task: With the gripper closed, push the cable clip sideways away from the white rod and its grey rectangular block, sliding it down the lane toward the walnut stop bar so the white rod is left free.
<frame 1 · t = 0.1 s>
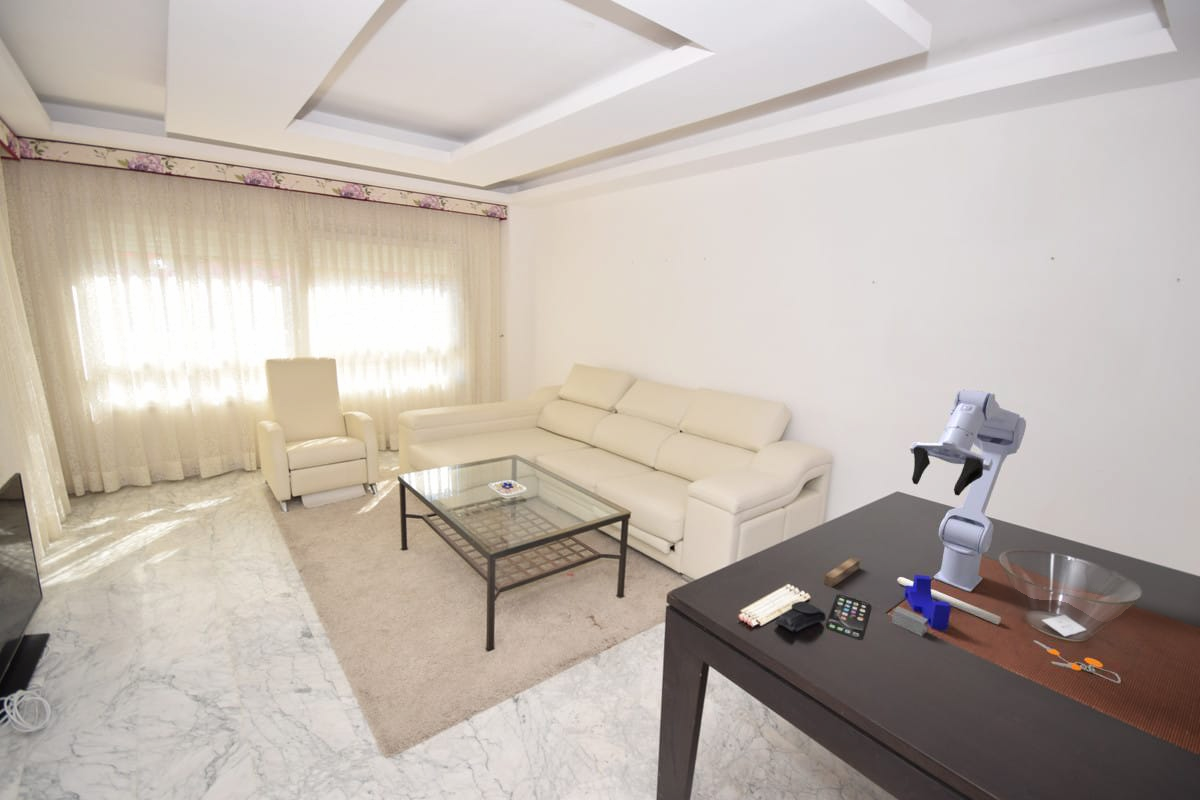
hand: (934, 486, 107), 32 cm above the table, tool tilted 50°, fingers open, 7 cm apart
smartphone: (848, 618, 117), on the table
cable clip: (924, 613, 118), on the table
key chain: (1074, 664, 103), on the table
stop bar: (841, 575, 133), on the table
white rod: (946, 603, 122), on the table
grey rectangular block: (908, 626, 113), on the table
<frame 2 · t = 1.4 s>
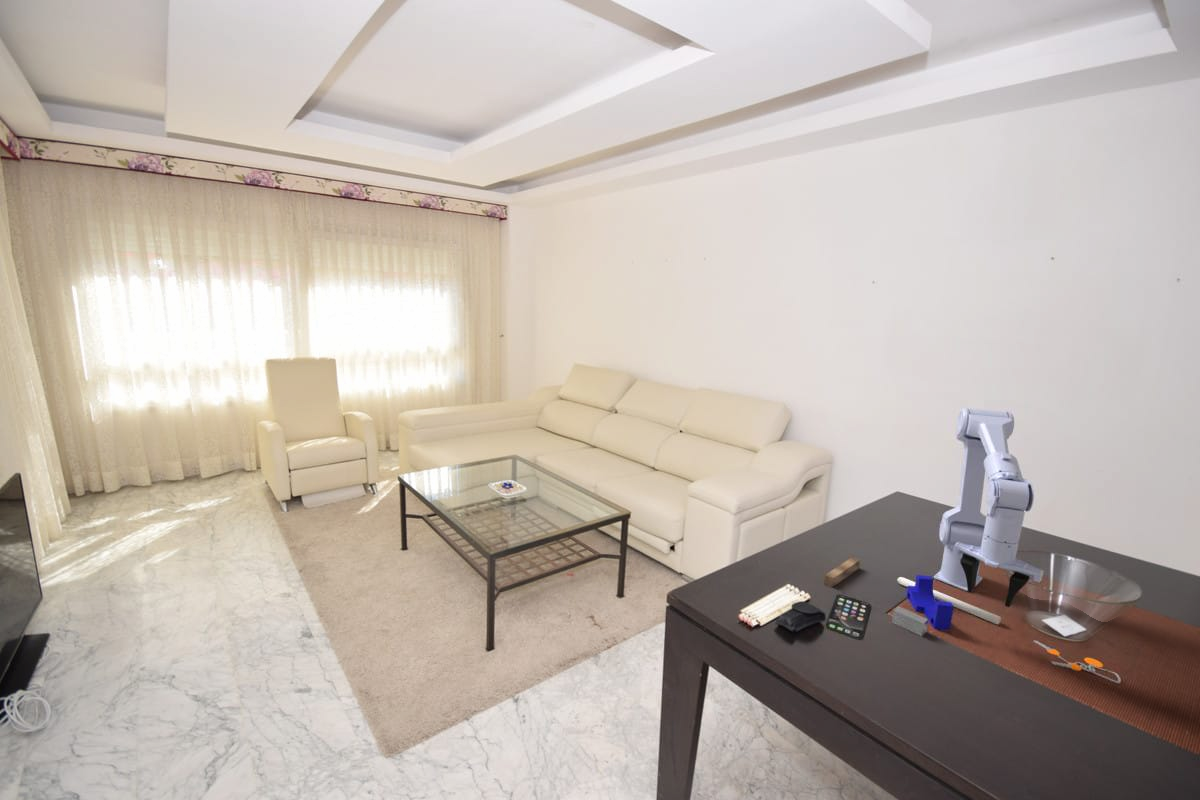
hand: (989, 597, 108), 9 cm above the table, tool pointing down, fingers open, 6 cm apart
nothing on the table moved.
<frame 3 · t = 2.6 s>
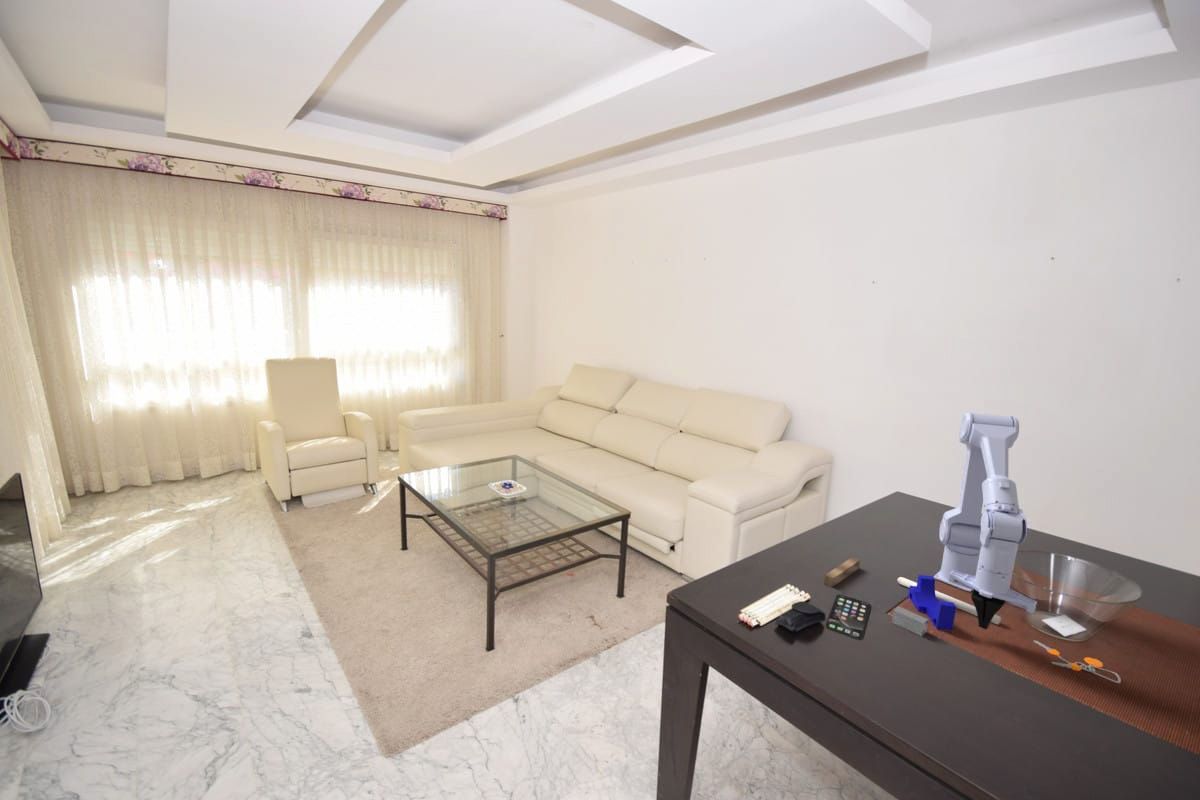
hand: (983, 626, 109), 3 cm above the table, tool pointing down, fingers closed
nothing on the table moved.
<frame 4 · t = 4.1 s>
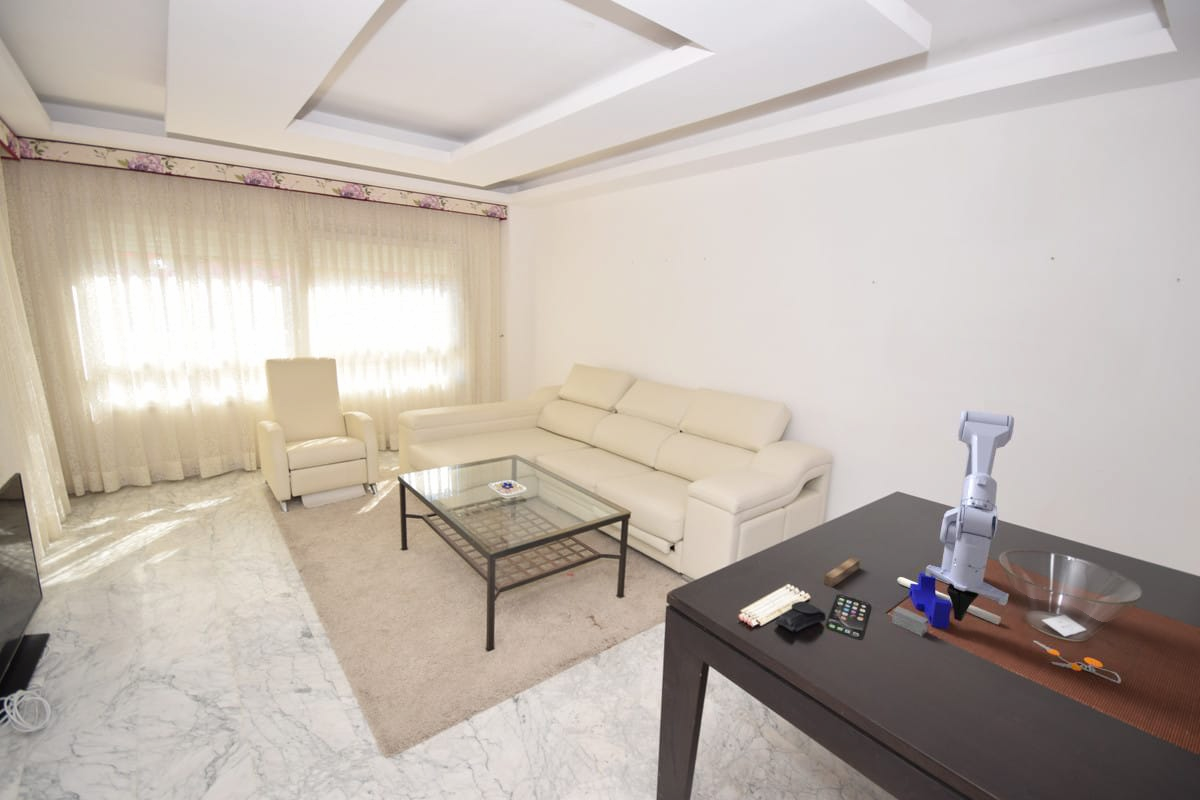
hand: (958, 618, 113), 2 cm above the table, tool pointing down, fingers closed
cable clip: (927, 611, 119), on the table, touching gripper
everything else where it was.
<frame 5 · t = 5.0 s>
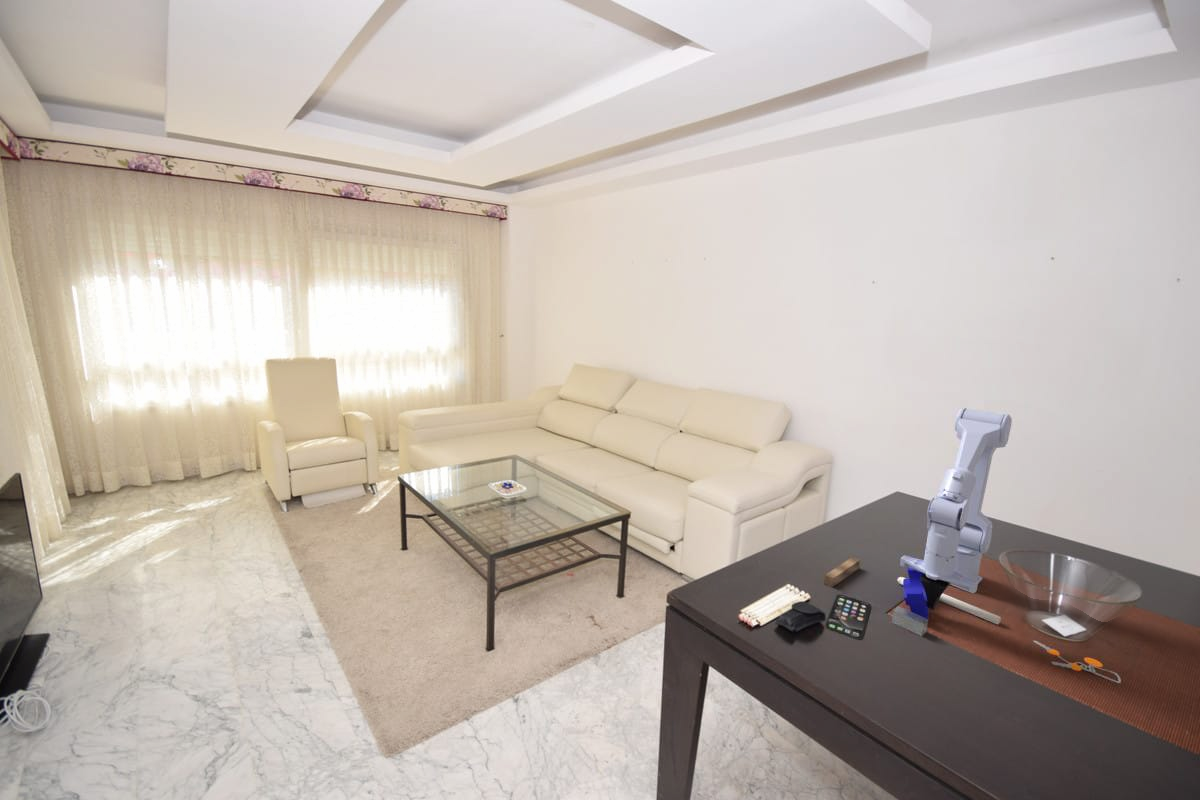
hand: (931, 606, 117), 2 cm above the table, tool pointing down, fingers closed
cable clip: (917, 604, 120), point 1 cm above the table, touching gripper
everything else where it was.
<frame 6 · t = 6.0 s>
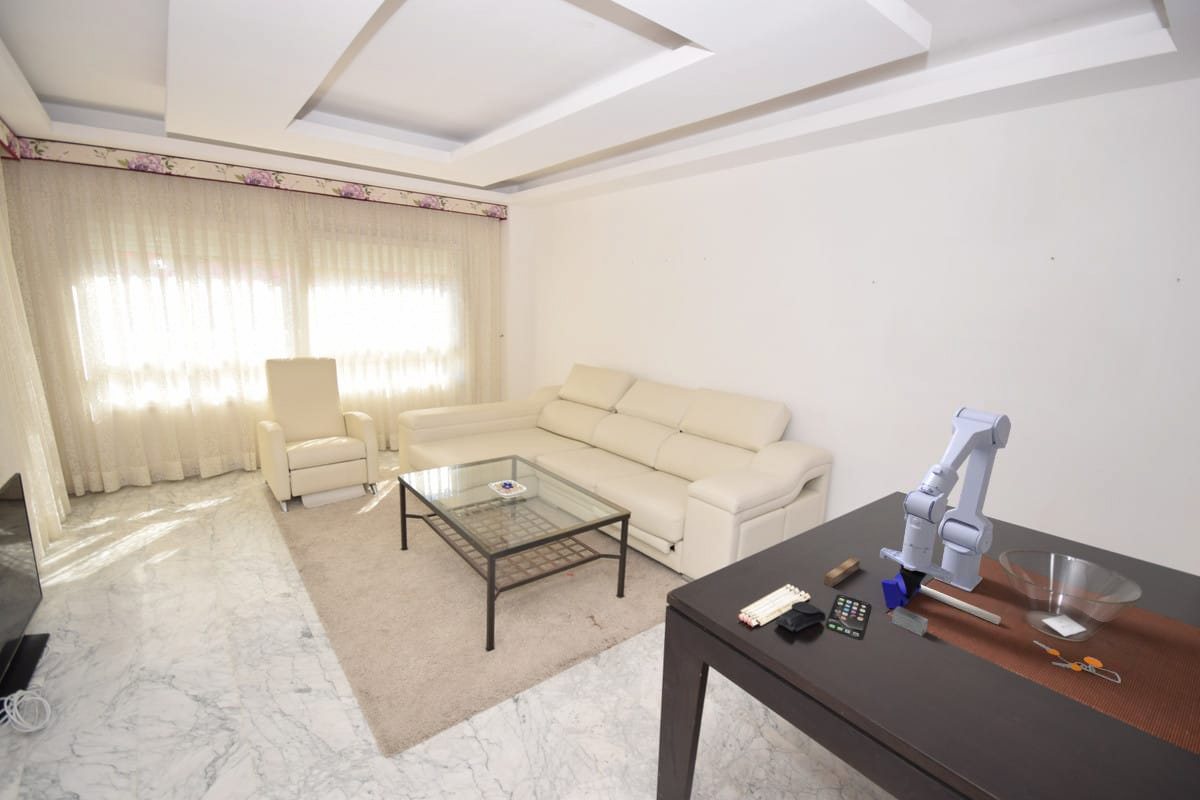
hand: (910, 597, 120), 2 cm above the table, tool pointing down, fingers closed, pressing on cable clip
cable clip: (901, 597, 123), on the table, touching gripper
everything else where it was.
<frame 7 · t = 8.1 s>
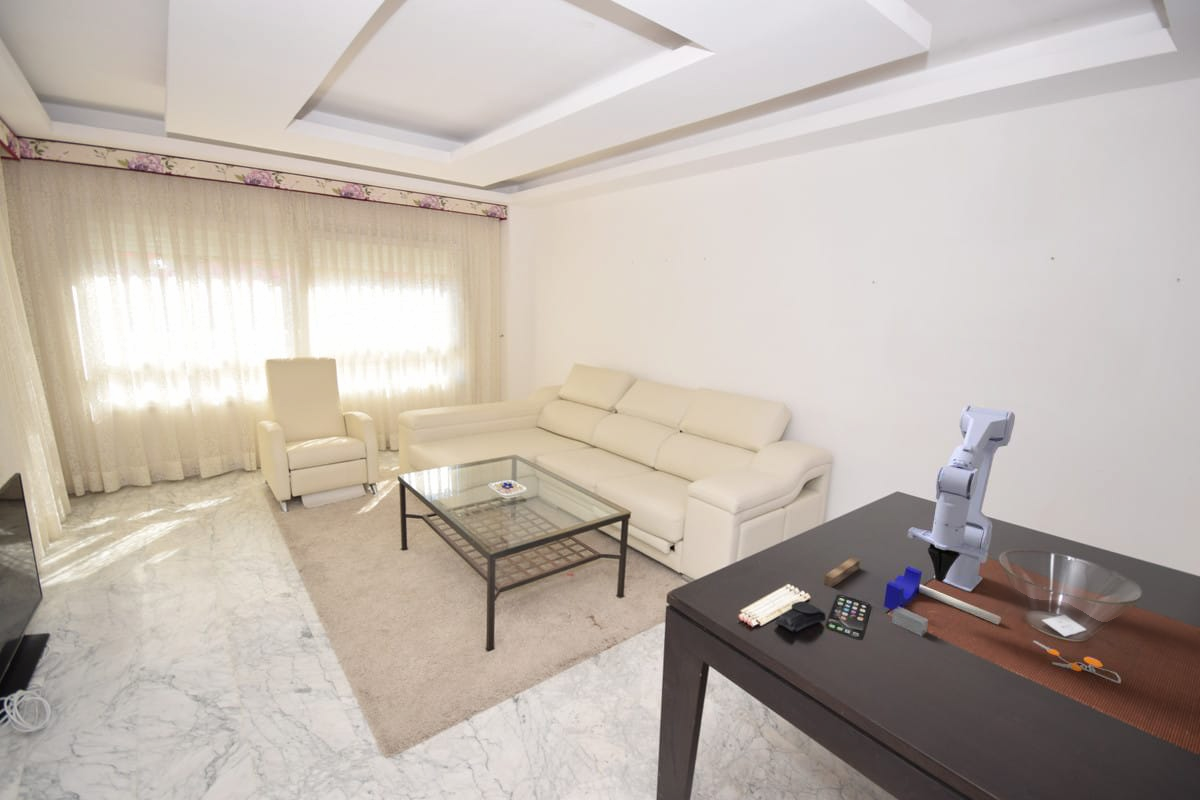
hand: (940, 578, 115), 9 cm above the table, tool pointing down, fingers closed
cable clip: (897, 599, 123), on the table
everything else where it was.
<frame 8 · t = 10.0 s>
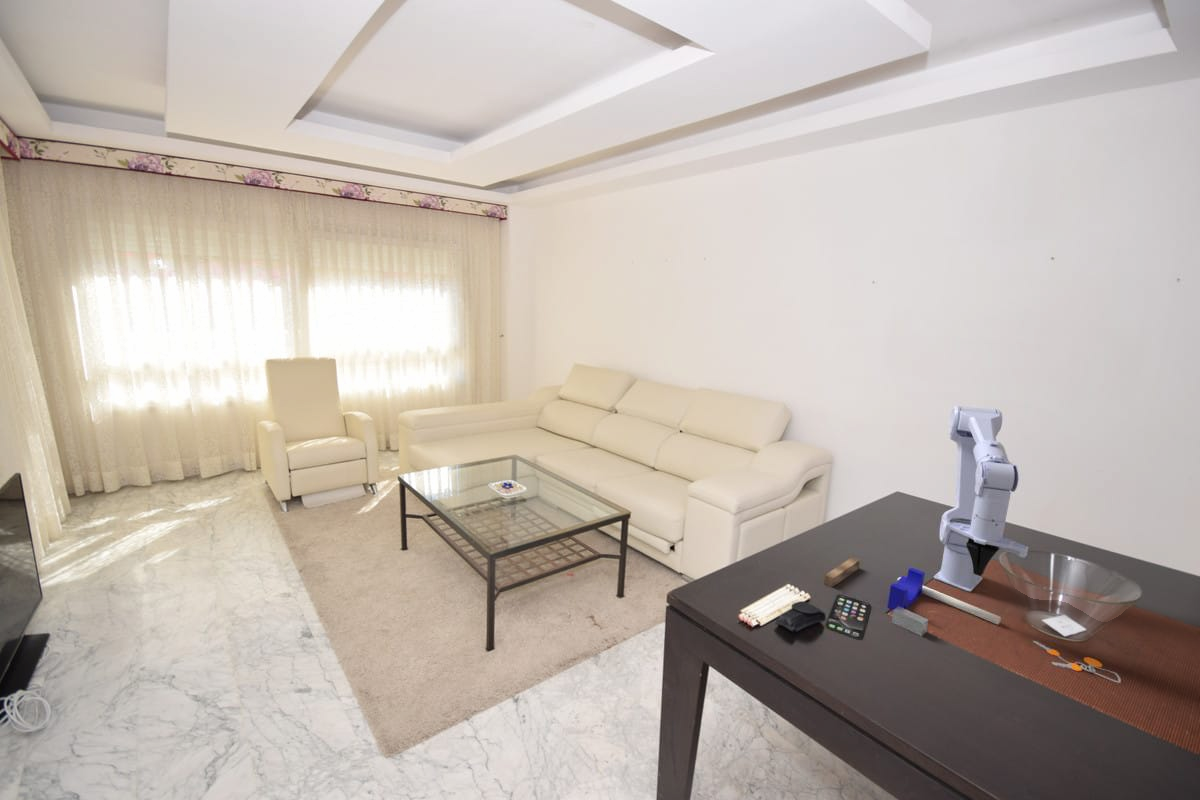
hand: (978, 573, 115), 10 cm above the table, tool pointing down, fingers closed
nothing on the table moved.
at the end: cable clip inside the target area (5.3 cm from its centre), on the table; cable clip moved 5.4 cm from its start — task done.
